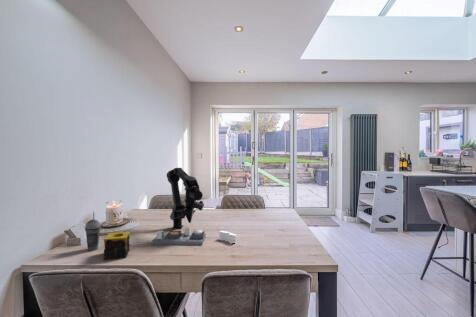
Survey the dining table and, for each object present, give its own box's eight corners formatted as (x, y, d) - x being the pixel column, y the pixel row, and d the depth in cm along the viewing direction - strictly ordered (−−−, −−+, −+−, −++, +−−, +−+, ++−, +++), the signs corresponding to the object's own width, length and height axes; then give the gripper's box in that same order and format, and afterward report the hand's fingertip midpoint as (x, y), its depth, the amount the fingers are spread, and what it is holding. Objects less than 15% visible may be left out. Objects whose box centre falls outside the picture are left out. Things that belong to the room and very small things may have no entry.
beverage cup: (97, 245, 133) (97, 209, 133) (103, 249, 129) (103, 211, 128) (82, 249, 128) (82, 211, 127) (88, 253, 123) (87, 213, 123)
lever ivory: (185, 233, 148) (185, 227, 148) (190, 233, 148) (190, 227, 148) (184, 235, 145) (184, 228, 145) (189, 235, 145) (189, 228, 145)
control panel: (160, 236, 150) (160, 228, 150) (205, 237, 149) (205, 229, 149) (152, 244, 137) (152, 236, 137) (202, 245, 136) (202, 237, 136)
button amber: (171, 234, 145) (171, 231, 145) (179, 234, 145) (179, 231, 145) (168, 237, 140) (168, 234, 140) (177, 237, 140) (177, 234, 140)
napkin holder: (214, 239, 147) (215, 229, 147) (232, 237, 151) (232, 227, 151) (222, 248, 133) (222, 238, 133) (242, 245, 137) (242, 235, 137)
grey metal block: (158, 237, 141) (158, 230, 140) (163, 237, 141) (163, 230, 140) (156, 239, 138) (156, 232, 137) (161, 239, 138) (161, 232, 137)
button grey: (194, 232, 145) (194, 229, 145) (203, 233, 145) (203, 229, 145) (192, 235, 140) (192, 232, 140) (201, 235, 140) (201, 232, 140)
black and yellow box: (103, 260, 116) (103, 239, 116) (108, 251, 125) (108, 232, 125) (126, 258, 118) (126, 237, 118) (129, 250, 128) (129, 231, 128)
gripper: (200, 201, 143) (200, 227, 143) (205, 195, 161) (205, 218, 162) (181, 200, 143) (181, 227, 143) (188, 195, 162) (188, 218, 162)
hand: (189, 222), depth 153 cm, fingers closed
